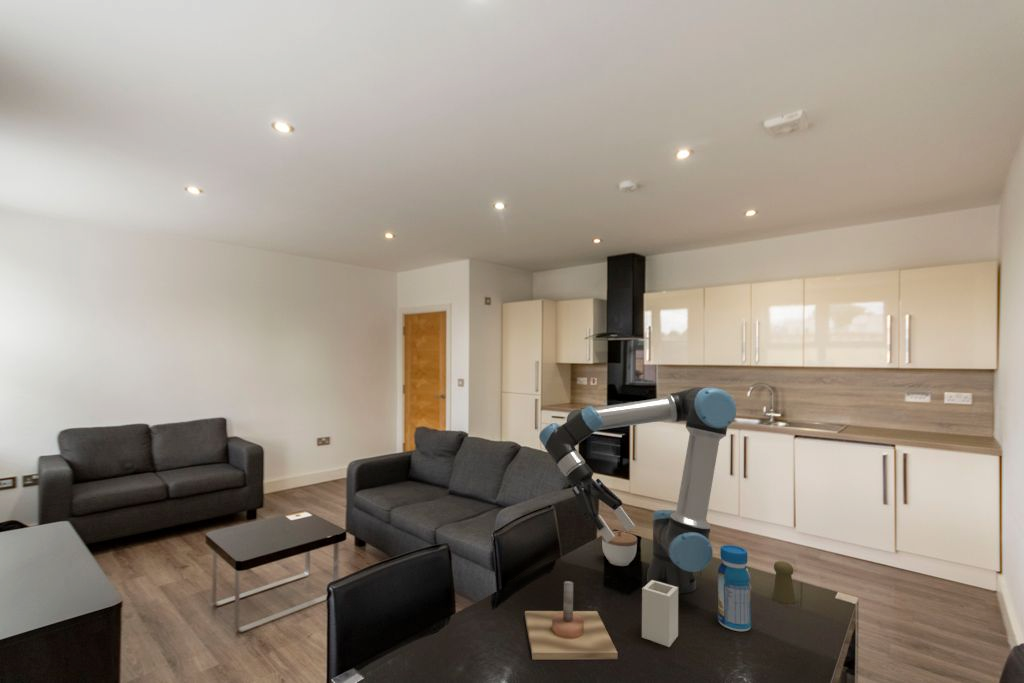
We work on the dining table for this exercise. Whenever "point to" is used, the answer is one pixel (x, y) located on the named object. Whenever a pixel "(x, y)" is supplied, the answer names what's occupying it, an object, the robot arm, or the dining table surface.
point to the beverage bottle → (734, 589)
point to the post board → (568, 646)
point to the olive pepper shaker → (783, 583)
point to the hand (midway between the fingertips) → (621, 533)
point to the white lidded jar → (620, 548)
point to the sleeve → (660, 612)
